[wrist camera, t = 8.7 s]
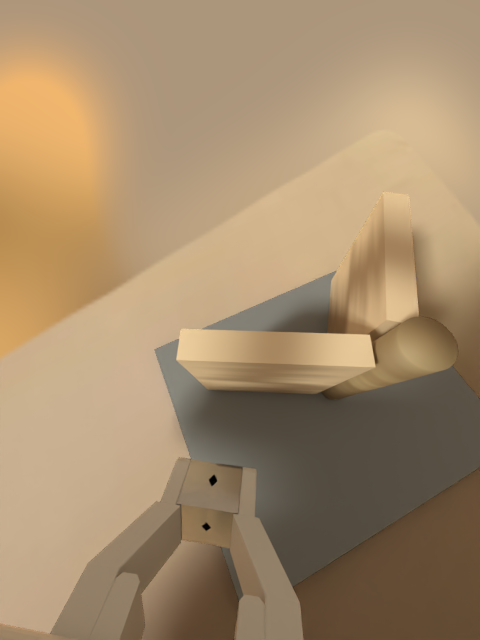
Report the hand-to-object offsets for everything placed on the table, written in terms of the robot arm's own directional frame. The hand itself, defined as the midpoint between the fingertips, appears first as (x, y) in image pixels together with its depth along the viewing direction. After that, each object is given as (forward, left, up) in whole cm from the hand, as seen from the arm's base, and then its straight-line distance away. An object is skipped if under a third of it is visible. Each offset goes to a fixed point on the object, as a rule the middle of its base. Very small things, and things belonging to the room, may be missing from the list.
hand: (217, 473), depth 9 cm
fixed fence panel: (+4, -10, -6) cm, 12 cm away
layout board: (+1, -7, -6) cm, 9 cm away
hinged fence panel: (+3, -4, -6) cm, 7 cm away
